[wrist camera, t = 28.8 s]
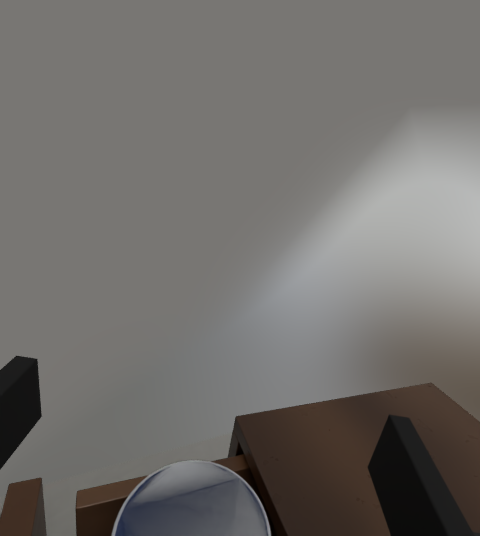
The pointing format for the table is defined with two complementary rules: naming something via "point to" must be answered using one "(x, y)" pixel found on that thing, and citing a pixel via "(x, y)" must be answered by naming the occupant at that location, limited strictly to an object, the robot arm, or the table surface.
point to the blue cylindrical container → (192, 504)
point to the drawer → (89, 504)
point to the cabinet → (352, 458)
